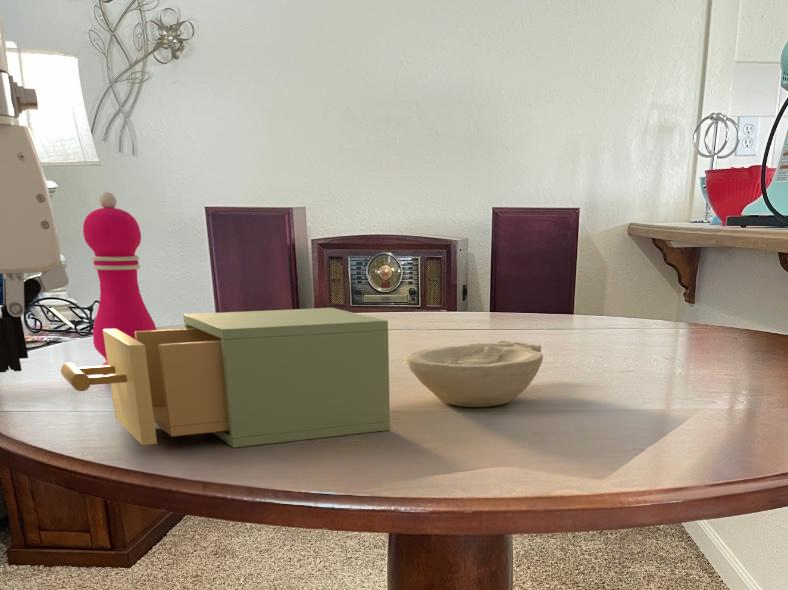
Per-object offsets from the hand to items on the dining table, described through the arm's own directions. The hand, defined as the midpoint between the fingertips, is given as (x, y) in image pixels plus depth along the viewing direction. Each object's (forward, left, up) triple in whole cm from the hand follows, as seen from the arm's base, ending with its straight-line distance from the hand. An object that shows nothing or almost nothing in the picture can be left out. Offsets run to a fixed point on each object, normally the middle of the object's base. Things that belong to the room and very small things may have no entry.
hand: (8, 369), depth 70 cm
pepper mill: (+15, +32, -7) cm, 36 cm away
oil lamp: (+47, +4, -7) cm, 48 cm away
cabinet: (+23, 0, -7) cm, 24 cm away
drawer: (+13, 0, -6) cm, 14 cm away
